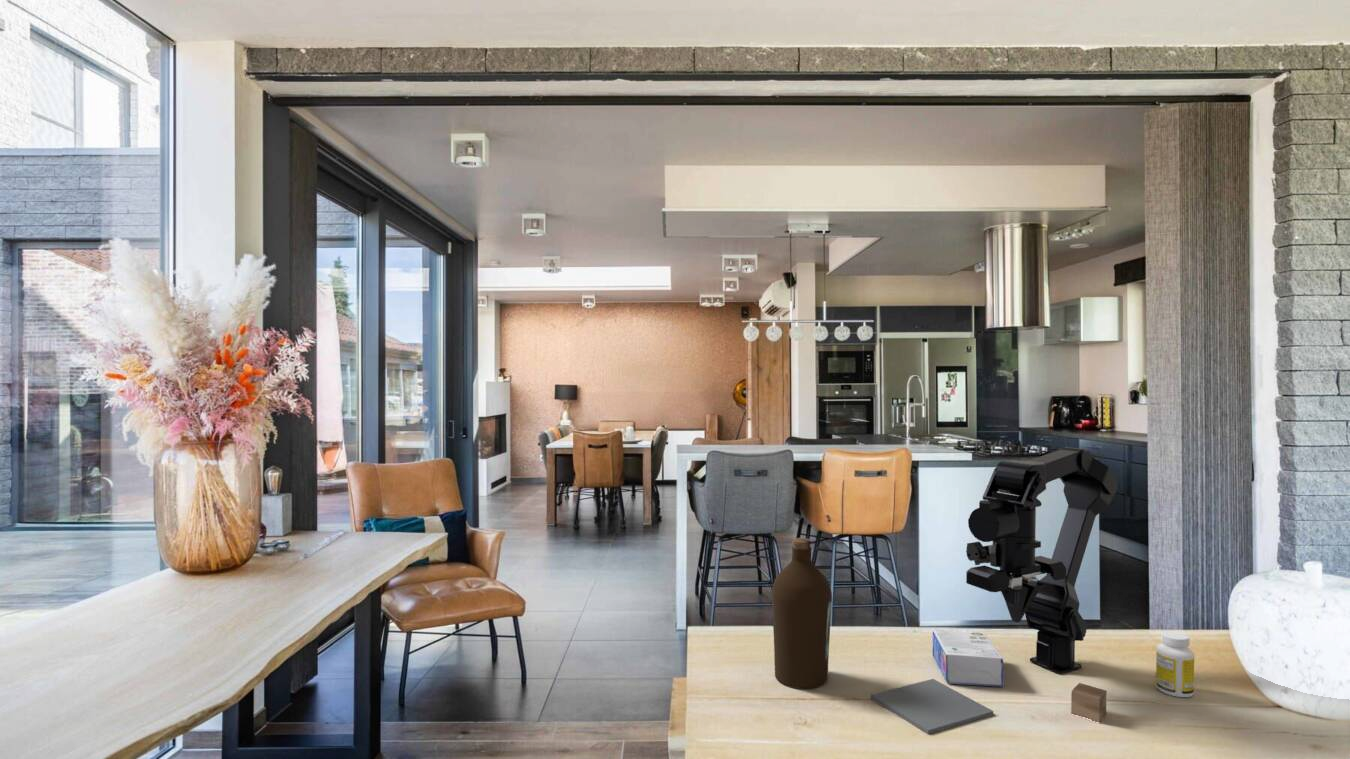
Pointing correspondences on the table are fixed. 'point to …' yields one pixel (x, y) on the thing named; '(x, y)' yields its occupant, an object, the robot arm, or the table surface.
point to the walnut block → (1088, 702)
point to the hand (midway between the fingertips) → (1016, 621)
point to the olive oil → (801, 621)
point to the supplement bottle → (1175, 665)
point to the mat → (931, 705)
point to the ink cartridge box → (967, 658)
